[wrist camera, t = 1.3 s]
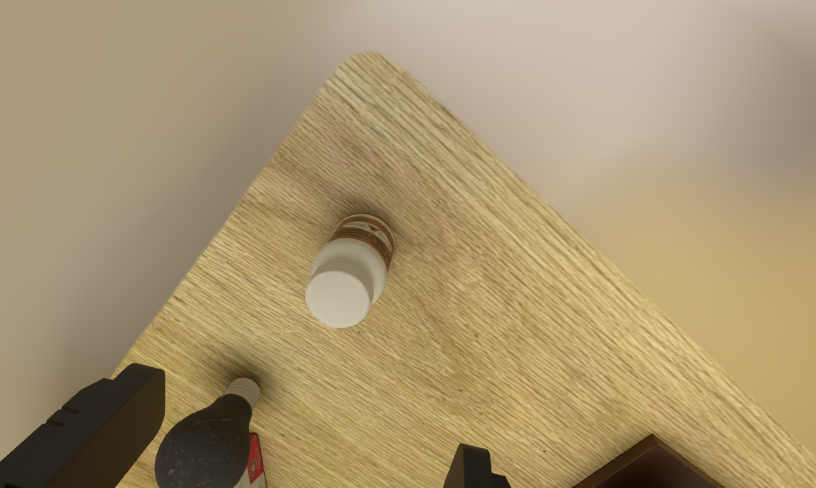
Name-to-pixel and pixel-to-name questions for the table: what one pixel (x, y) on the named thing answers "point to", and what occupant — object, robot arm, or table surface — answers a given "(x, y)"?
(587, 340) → the table surface
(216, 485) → the light bulb
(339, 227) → the pill bottle
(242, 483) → the ink box
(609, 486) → the stand
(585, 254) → the table surface
